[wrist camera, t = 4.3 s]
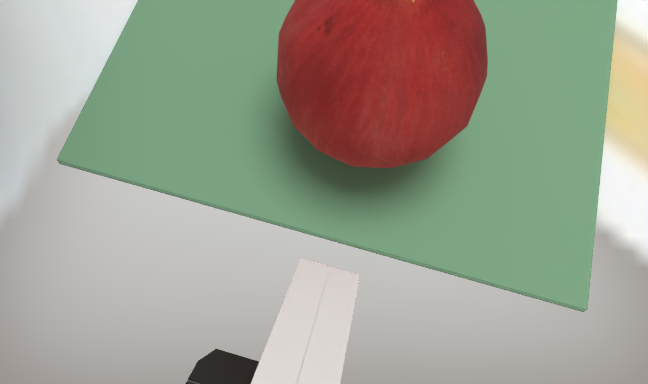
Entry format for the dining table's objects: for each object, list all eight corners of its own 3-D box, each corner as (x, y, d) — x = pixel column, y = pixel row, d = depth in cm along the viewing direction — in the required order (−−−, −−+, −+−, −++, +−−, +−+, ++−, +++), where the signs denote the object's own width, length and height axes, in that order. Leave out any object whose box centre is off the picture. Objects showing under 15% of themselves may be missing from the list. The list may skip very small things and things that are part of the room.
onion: (282, 51, 22) (284, -158, 14) (444, 62, 22) (526, -137, 15) (271, 204, 19) (267, 48, 12) (453, 214, 20) (556, 67, 12)
